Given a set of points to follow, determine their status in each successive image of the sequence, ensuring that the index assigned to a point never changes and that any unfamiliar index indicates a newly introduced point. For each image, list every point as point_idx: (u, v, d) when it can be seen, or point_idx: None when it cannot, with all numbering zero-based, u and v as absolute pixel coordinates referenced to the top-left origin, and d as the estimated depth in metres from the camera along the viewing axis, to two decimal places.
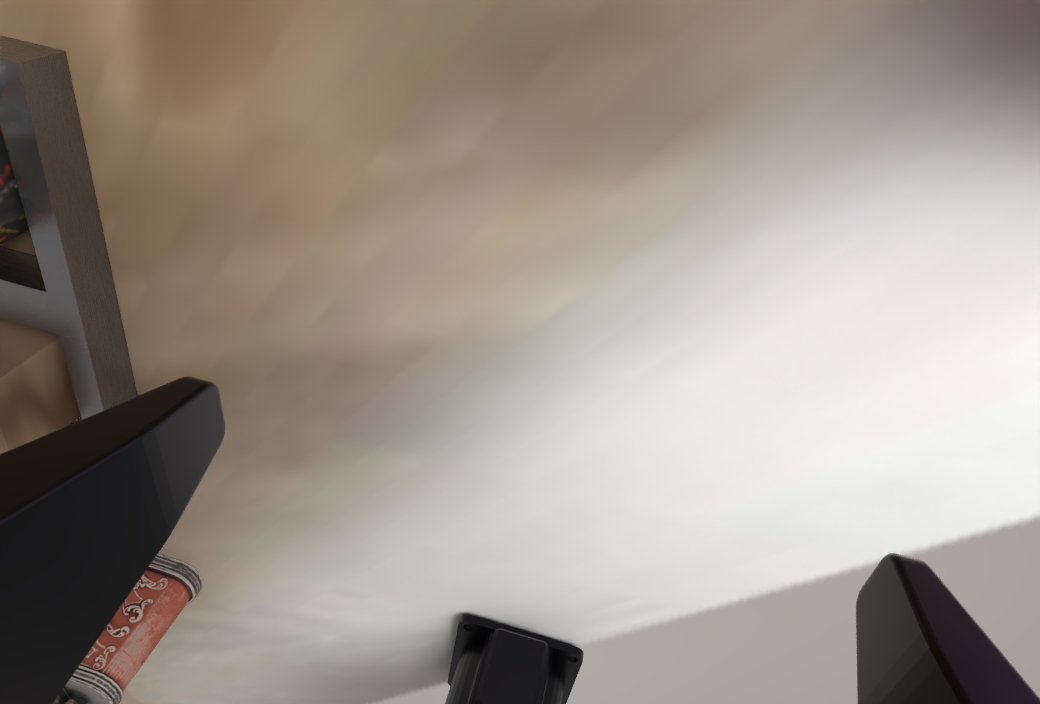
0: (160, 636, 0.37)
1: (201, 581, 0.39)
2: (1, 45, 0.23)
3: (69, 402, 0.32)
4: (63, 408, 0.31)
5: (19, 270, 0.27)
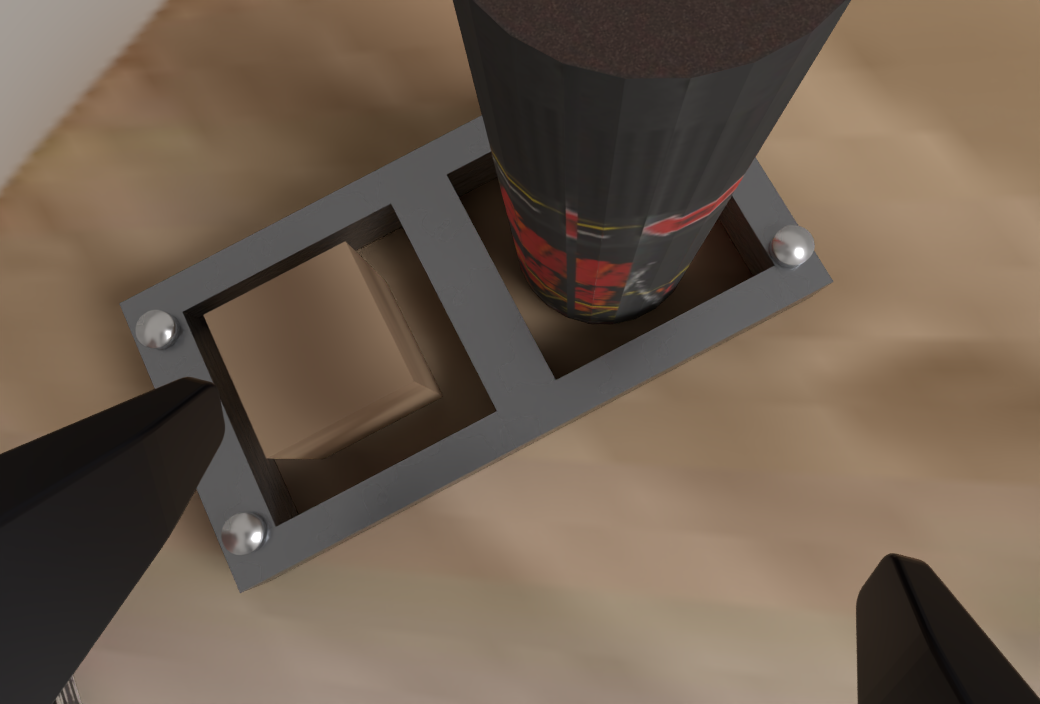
0: None
1: None
2: None
3: (342, 443, 0.22)
4: (336, 443, 0.22)
5: None
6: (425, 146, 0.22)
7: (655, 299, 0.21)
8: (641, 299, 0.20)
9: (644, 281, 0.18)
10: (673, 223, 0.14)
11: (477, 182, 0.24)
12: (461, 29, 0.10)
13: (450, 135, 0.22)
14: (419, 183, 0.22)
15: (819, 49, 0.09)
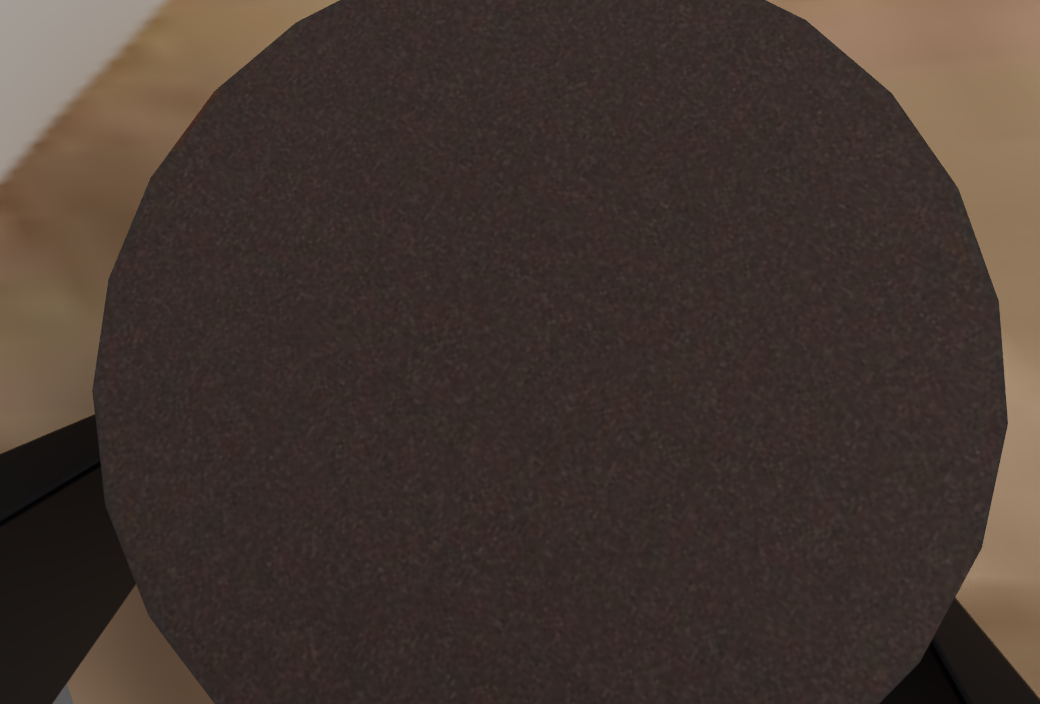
0: None
1: None
2: None
3: None
4: None
5: None
6: None
7: None
8: None
9: None
10: None
11: None
12: None
13: None
14: None
15: None
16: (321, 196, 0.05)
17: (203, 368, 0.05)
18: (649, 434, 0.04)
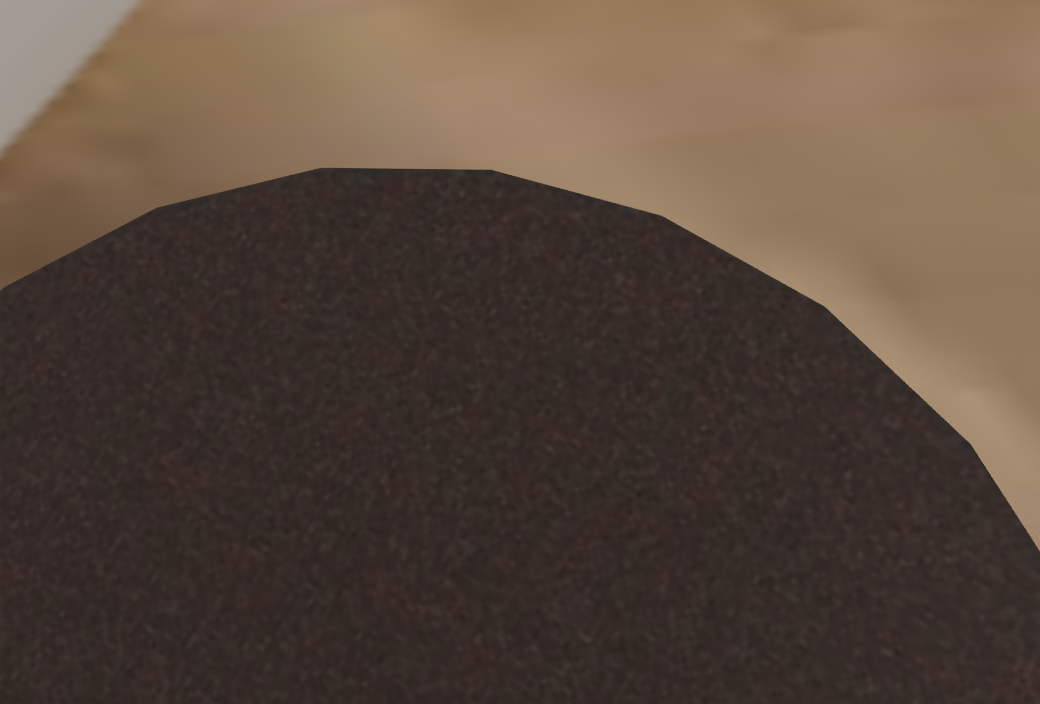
0: None
1: None
2: None
3: None
4: None
5: None
6: None
7: None
8: None
9: None
10: None
11: None
12: None
13: None
14: None
15: None
16: (24, 596, 0.03)
17: None
18: None
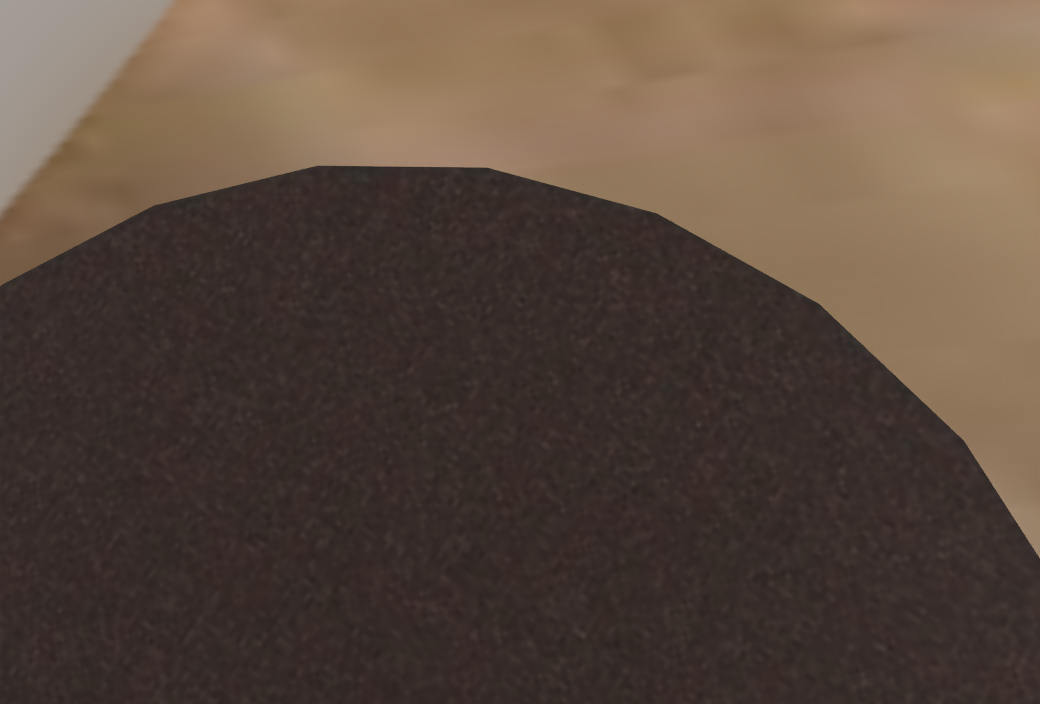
0: None
1: None
2: None
3: None
4: None
5: None
6: None
7: None
8: None
9: None
10: None
11: None
12: None
13: None
14: None
15: None
16: (22, 591, 0.03)
17: None
18: None
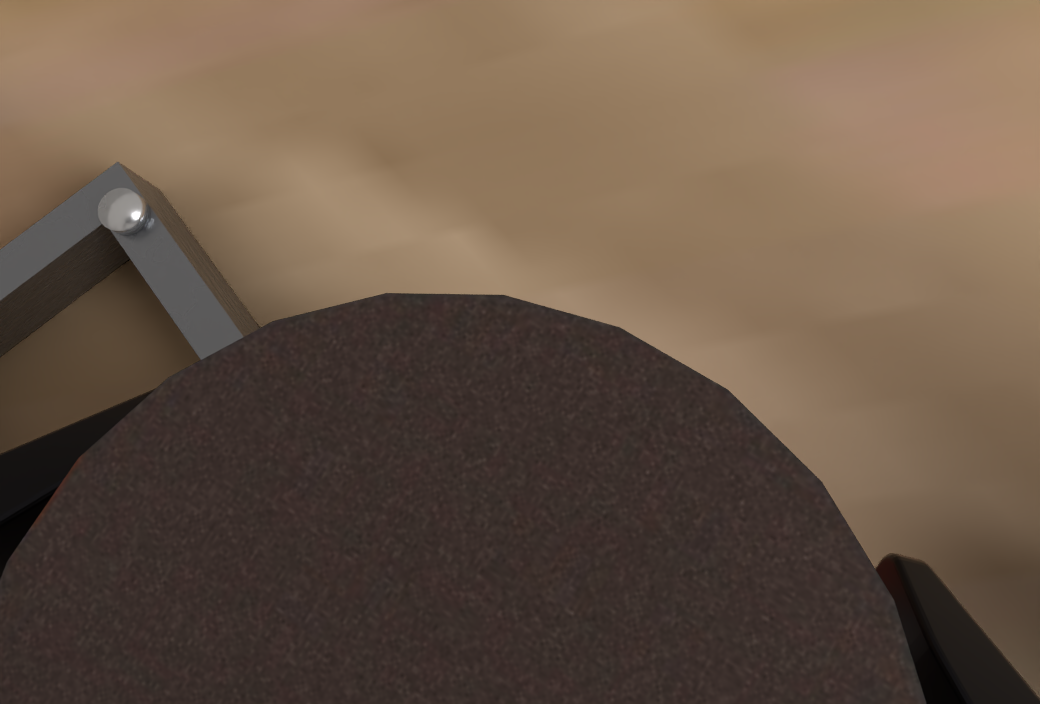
0: None
1: None
2: None
3: None
4: None
5: None
6: None
7: None
8: None
9: None
10: None
11: None
12: None
13: None
14: None
15: None
16: (192, 589, 0.04)
17: None
18: None
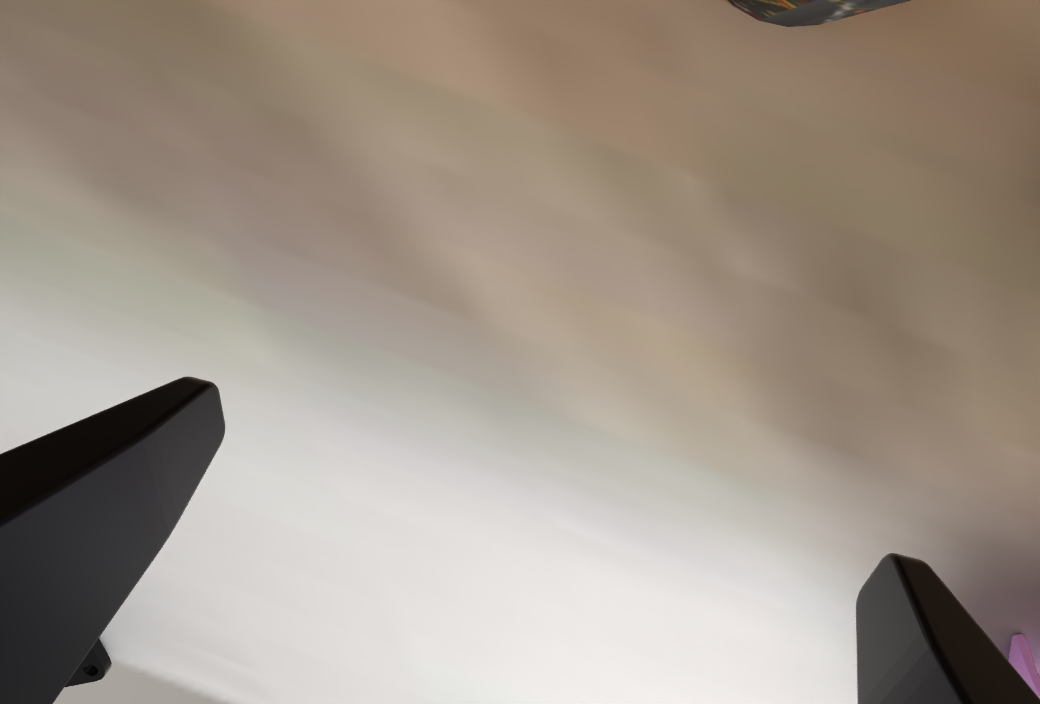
0: None
1: None
2: None
3: None
4: None
5: None
6: None
7: (836, 17, 0.16)
8: (830, 12, 0.15)
9: None
10: None
11: None
12: None
13: None
14: None
15: None
16: None
17: None
18: None
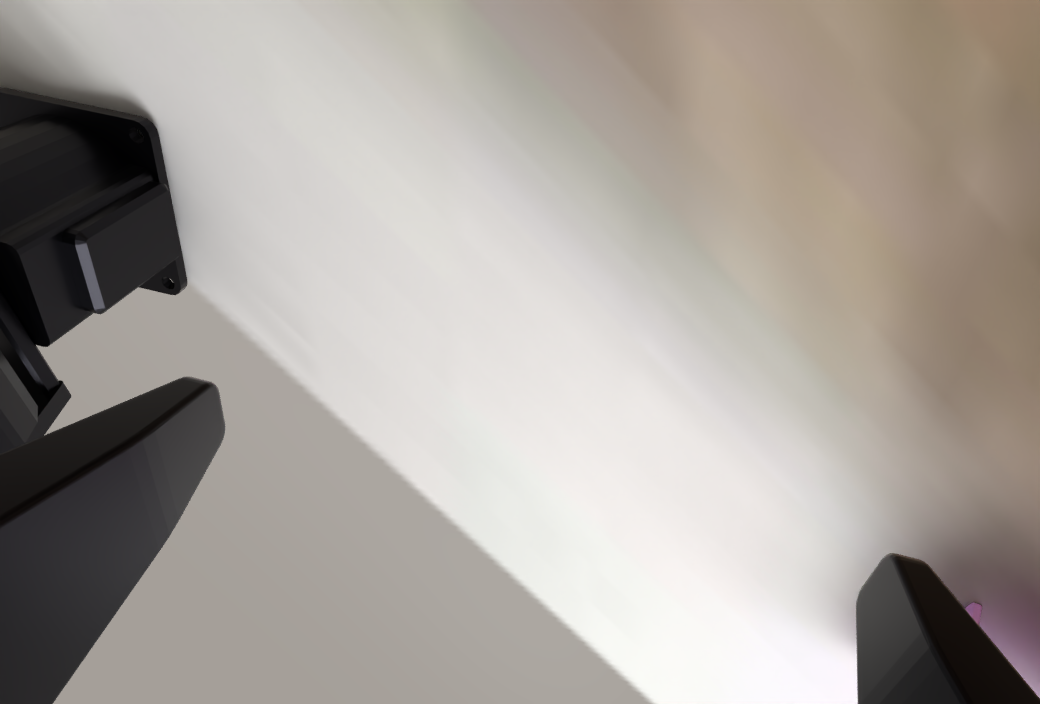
0: None
1: None
2: None
3: None
4: None
5: None
6: None
7: None
8: None
9: None
10: None
11: None
12: None
13: None
14: None
15: None
16: None
17: None
18: None
